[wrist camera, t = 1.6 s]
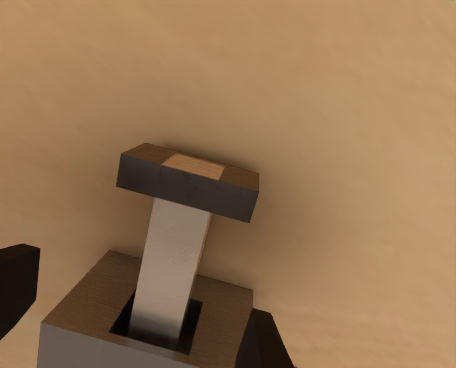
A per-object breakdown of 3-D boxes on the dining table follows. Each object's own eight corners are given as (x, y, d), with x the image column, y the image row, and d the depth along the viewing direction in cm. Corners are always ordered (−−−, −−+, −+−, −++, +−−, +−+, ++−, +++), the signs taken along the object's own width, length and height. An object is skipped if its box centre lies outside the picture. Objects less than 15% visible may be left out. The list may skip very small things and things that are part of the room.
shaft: (90, 449, 23) (66, 500, 20) (145, 142, 16) (121, 153, 14) (170, 473, 23) (157, 527, 20) (258, 173, 16) (258, 191, 13)
